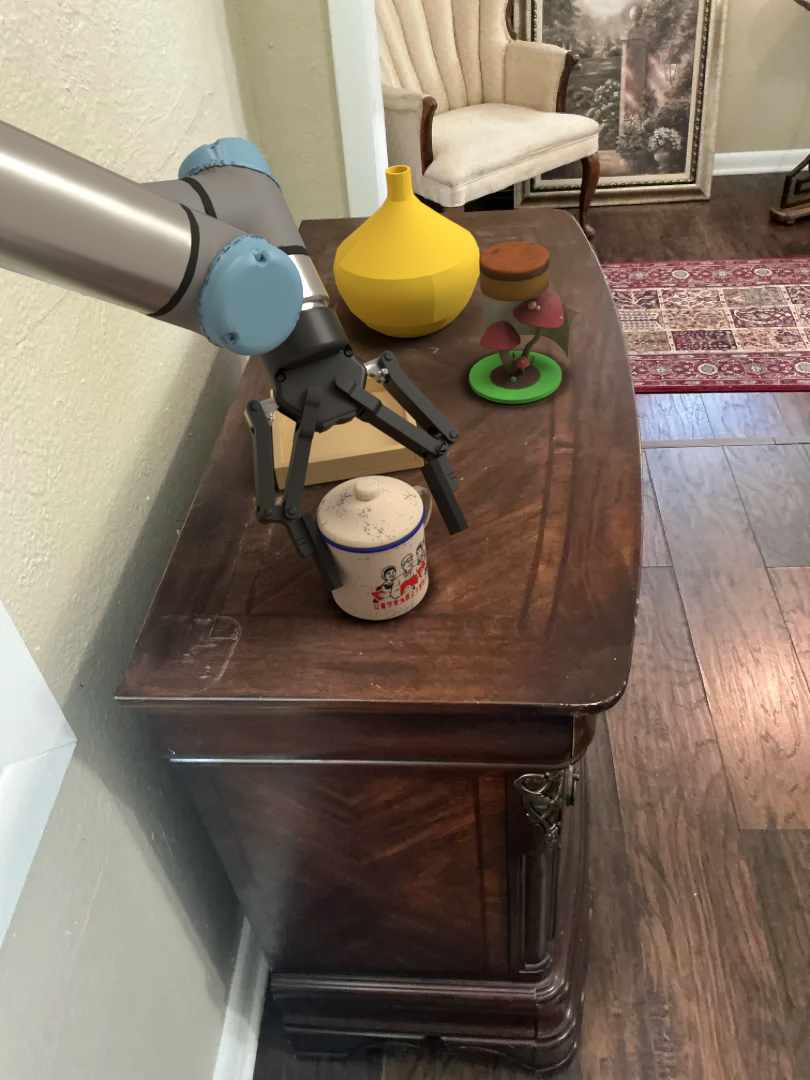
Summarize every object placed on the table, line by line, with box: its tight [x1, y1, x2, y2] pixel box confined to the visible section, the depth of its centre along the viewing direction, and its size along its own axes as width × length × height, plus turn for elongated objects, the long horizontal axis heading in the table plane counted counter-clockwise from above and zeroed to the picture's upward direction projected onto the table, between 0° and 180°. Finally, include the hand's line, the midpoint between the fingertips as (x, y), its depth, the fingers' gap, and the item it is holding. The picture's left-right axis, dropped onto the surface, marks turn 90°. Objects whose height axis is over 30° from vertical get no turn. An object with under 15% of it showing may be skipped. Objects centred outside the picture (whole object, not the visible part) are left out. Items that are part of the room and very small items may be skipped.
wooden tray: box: [269, 377, 425, 491], centre depth 94 cm, size 15×15×3 cm
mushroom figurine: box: [468, 240, 580, 405], centre depth 95 cm, size 12×13×15 cm
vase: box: [332, 164, 481, 339], centre depth 106 cm, size 18×18×19 cm
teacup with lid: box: [314, 475, 433, 621], centre depth 74 cm, size 12×9×12 cm
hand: (399, 559), depth 73 cm, fingers closed on teacup with lid, 11 cm apart
